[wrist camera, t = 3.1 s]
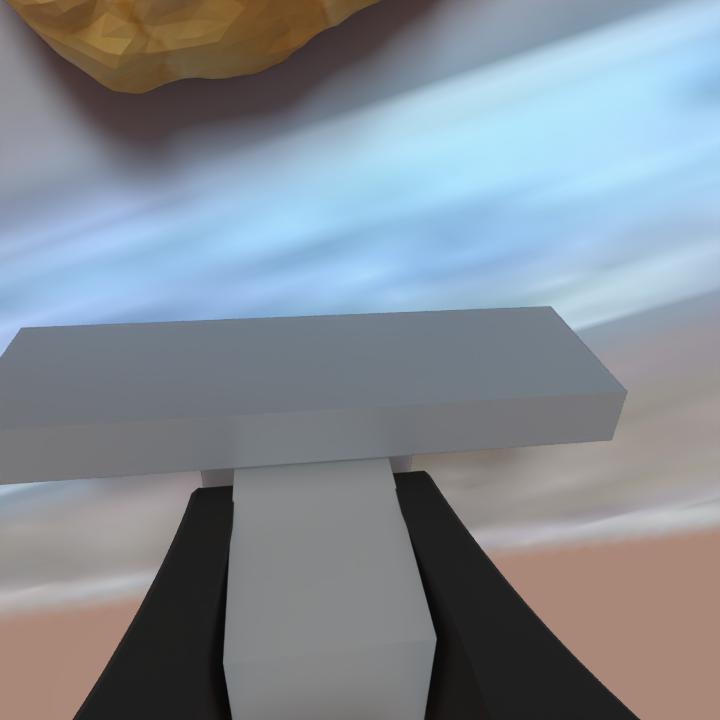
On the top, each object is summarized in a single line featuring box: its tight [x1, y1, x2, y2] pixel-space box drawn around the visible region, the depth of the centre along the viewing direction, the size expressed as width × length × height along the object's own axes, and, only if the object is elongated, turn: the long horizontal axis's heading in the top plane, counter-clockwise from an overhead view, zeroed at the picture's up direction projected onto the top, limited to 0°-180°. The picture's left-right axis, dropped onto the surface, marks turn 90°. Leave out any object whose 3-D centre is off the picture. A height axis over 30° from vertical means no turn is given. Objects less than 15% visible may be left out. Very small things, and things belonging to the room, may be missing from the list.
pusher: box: [0, 306, 627, 720], centre depth 10 cm, size 10×4×6 cm, turn 88°
